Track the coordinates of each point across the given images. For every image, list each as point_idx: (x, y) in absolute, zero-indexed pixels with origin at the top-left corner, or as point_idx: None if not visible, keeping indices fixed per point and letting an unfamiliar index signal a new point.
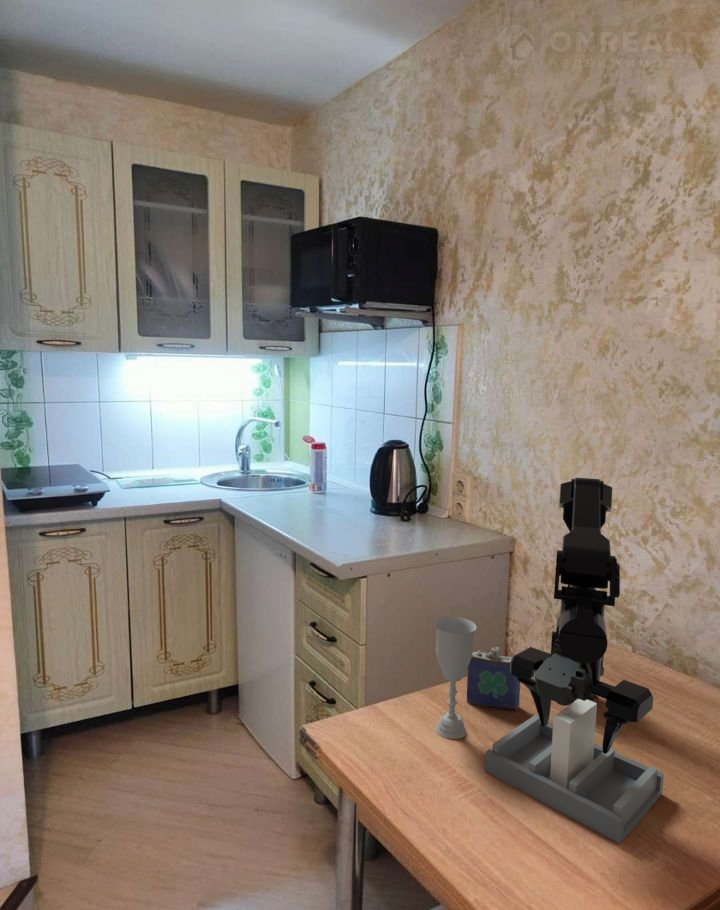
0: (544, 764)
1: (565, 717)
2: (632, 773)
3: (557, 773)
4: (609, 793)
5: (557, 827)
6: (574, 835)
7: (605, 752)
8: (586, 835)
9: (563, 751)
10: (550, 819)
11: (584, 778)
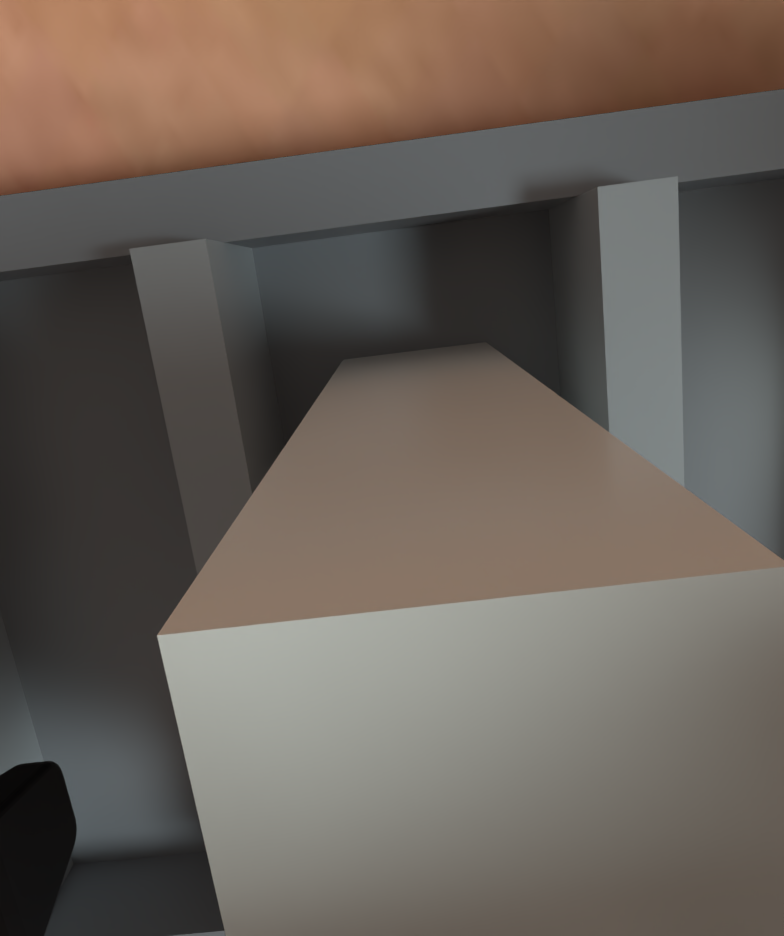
0: (588, 381)
1: (487, 807)
2: (168, 878)
3: (429, 364)
4: (156, 602)
5: (184, 15)
6: (62, 51)
7: (5, 773)
8: (19, 130)
9: (377, 413)
10: (270, 49)
11: (167, 429)
